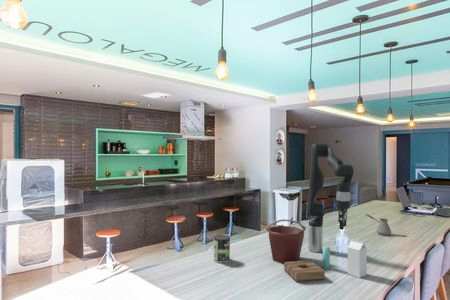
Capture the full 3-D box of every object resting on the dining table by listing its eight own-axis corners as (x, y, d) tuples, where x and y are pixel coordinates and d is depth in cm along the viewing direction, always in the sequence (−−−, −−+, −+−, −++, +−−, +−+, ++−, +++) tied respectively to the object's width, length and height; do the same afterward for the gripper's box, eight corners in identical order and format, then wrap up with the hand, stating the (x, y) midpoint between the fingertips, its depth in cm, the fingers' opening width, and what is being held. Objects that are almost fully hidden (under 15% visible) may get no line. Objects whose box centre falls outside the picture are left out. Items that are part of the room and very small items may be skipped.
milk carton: (359, 278, 166) (359, 242, 166) (347, 274, 172) (347, 239, 172) (366, 275, 170) (366, 240, 170) (354, 271, 176) (354, 237, 176)
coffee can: (232, 259, 194) (233, 236, 194) (224, 263, 185) (224, 240, 186) (219, 256, 200) (219, 234, 200) (210, 260, 191) (210, 237, 191)
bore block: (284, 270, 175) (284, 262, 175) (310, 269, 178) (310, 260, 178) (296, 282, 160) (296, 272, 160) (324, 280, 163) (324, 270, 163)
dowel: (321, 267, 182) (321, 246, 182) (327, 266, 183) (327, 246, 183) (324, 269, 178) (324, 248, 178) (331, 269, 179) (331, 248, 179)
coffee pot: (393, 234, 259) (393, 216, 259) (388, 237, 251) (388, 218, 251) (367, 229, 275) (368, 213, 275) (362, 231, 267) (362, 214, 267)
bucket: (306, 256, 201) (307, 218, 201) (303, 268, 180) (303, 225, 180) (269, 252, 209) (270, 215, 209) (262, 262, 188) (262, 221, 189)
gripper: (338, 197, 184) (338, 224, 184) (333, 200, 171) (333, 229, 171) (352, 198, 180) (351, 225, 180) (348, 201, 168) (347, 231, 168)
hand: (342, 227), depth 176 cm, fingers open, 8 cm apart
